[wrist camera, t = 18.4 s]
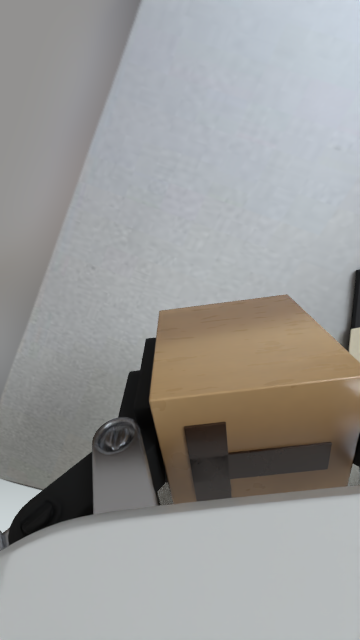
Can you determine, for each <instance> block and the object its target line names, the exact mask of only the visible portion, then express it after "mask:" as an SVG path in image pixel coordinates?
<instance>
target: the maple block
mask: <svg viewBox="0 0 360 640" xmlns="http://www.w3.org/2000/svg"><path fill="white" fill-rule="evenodd" d="M149 404H150V408H151V412H152V417H153V421H154V425H155V429H156V433H157V437H158V442H159V446H160V450H161V454H162V458H163V463H164V467H165V471H166V475H167V479H168V484H169V488H170V492H171V496H172V500H173V504H178V503H188V502H197V501H207V500H216V499H226V498H235V497H245V496H255V495H265V494H275V493H285V492H294V491H304V490H315V489H325V488H335V487H345V486H347V485H348V481H349V477H350V473H351V468H352V464H353V460H354V455H355V451H356V447H357V442H358V438H359V434H360V362H359V361H358V360H356V359H355V358H354V357H353V356H352V355H351V354H350V353H349V352H348V351H347V350H346V349H345V348H344V347H343V346H342V345H341V344H339V343H338V342H337V341H336V340H335V339H334V338H333V337H332V336H331V335H330V334H329V333H328V332H327V331H326V330H325V329H324V328H322V327H321V326H320V325H319V324H318V323H317V322H316V321H315V320H314V319H313V318H312V317H311V316H310V315H309V314H308V313H306V312H305V311H304V310H303V309H302V308H301V307H300V306H299V305H298V304H297V303H296V302H295V301H294V300H293V299H292V298H291V297H289V296H288V295H279V296H271V297H263V298H256V299H248V300H240V301H232V302H224V303H217V304H209V305H201V306H193V307H185V308H178V309H170V310H162V311H159V318H158V327H157V335H156V344H155V353H154V361H153V370H152V378H151V387H150V395H149Z"/></svg>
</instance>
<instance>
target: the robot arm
mask: <svg viewBox="0 0 360 640" xmlns="http://www.w3.org/2000/svg"><path fill="white" fill-rule="evenodd" d="M155 344H156V338H148V339H146V342H145V347H144V353H143V358H142V364H141V369H140V370H139V371H131V372H129V375H128V379H127V383H126V387H125V391H124V395H123V400H122V404H121V408H120V412H119V416H118V418H115V419H112V420H110V421H108V422H106V423H105V424H103V425H102V426H101V427H100V428H99V429H98V430H97V431H96V433H95V435H94V437H93V441H92V452H91V453H90V454H88V455H87V456H86V457H85V458H83V459H82V460H81V461H79V462H78V463H77V464H76V465H74V466H73V467H72V468H71V469H69V470H68V471H67V472H66V473H64V474H63V475H62V476H60V477H59V478H58V479H57V480H55V481H54V482H53V483H52V484H50V485H49V486H48V487H46V488H45V489H44V490H43V491H41V492H40V493H39V494H38V495H36V496H35V497H34V498H33V499H31V500H30V501H29V502H28V503H27V504H26V505H25V506H24V507H22V509H21V510H20V511H19V512H18V514H17V515H16V516H15V518H14V520H13V522H12V524H11V526H10V528H9V529H8V530H6V531H5V532H3V533H2V532H1V531H0V640H360V485H355V486H345V487H335V488H325V489H315V490H304V491H294V492H285V493H275V494H265V495H255V496H245V497H235V498H226V499H216V500H207V501H197V502H188V503H178V504H169V505H160V501H159V497H158V493H157V491H158V490H159V489H160V488H161V487H162V486H163V485H164V484H165V482H168V479H167V475H166V471H165V467H164V463H163V458H162V454H161V450H160V446H159V442H158V437H157V433H156V429H155V425H154V421H153V417H152V412H151V408H150V404H149V395H150V387H151V378H152V370H153V361H154V353H155ZM353 463H354V464H355V465H357V466H359V470H360V434H359V438H358V442H357V447H356V451H355V455H354V460H353Z"/></svg>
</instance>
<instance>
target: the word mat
mask: <svg viewBox="0 0 360 640" xmlns="http://www.w3.org/2000/svg"><path fill="white" fill-rule="evenodd" d="M349 353H350V354H351V355H352V356H353V357H354V358H355V359H356V360H358V361H359V362H360V270H357V273H356V283H355V294H354V305H353V315H352V326H351V331H350V342H349Z"/></svg>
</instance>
